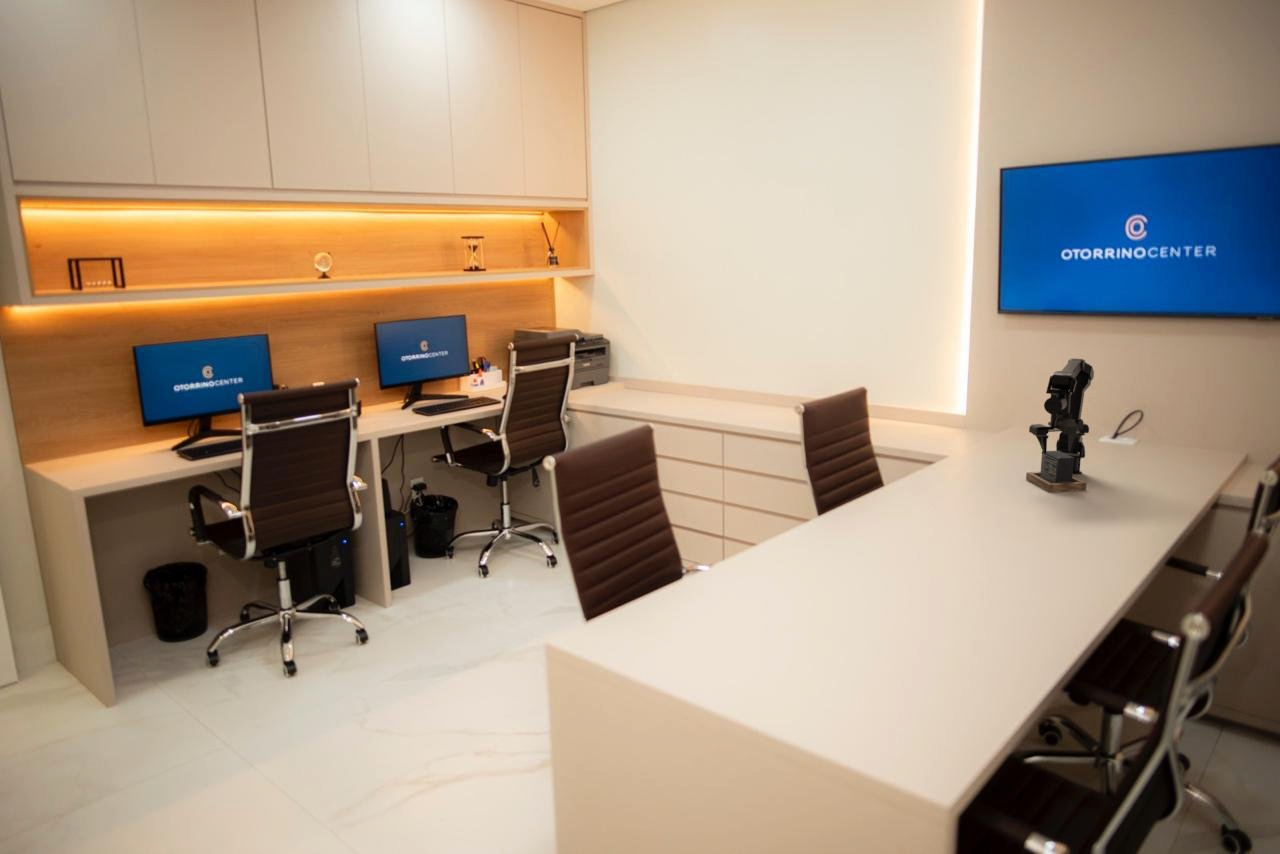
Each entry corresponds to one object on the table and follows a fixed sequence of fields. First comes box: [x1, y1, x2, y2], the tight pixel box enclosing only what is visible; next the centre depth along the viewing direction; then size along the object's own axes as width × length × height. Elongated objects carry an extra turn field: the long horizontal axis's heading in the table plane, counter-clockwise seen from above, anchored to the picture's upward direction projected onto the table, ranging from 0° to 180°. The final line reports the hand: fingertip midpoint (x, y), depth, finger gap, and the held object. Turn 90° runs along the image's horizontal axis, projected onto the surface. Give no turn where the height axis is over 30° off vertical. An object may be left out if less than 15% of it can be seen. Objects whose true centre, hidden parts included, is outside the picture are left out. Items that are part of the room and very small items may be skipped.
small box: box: [1040, 450, 1074, 483], centre depth 300 cm, size 11×6×10 cm, turn 4°
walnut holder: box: [1025, 471, 1087, 493], centre depth 301 cm, size 13×16×3 cm
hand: (1057, 452), depth 299 cm, fingers open, 9 cm apart
